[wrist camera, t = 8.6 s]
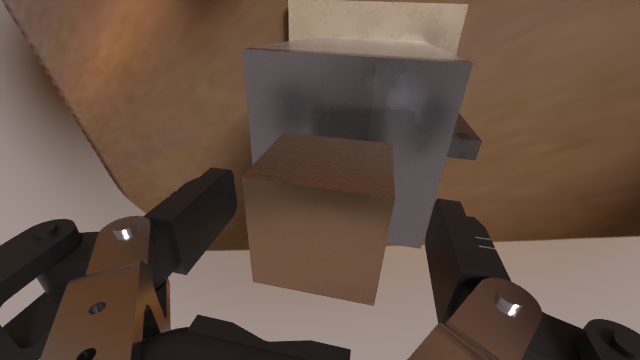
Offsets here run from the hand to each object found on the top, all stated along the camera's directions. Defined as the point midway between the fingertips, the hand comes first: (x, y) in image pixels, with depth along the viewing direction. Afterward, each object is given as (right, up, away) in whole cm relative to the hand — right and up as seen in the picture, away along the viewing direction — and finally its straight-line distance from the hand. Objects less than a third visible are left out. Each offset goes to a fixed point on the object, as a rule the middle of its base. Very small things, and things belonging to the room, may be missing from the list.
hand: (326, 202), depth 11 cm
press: (+5, +11, +19) cm, 23 cm away
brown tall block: (+4, +9, +16) cm, 19 cm away
